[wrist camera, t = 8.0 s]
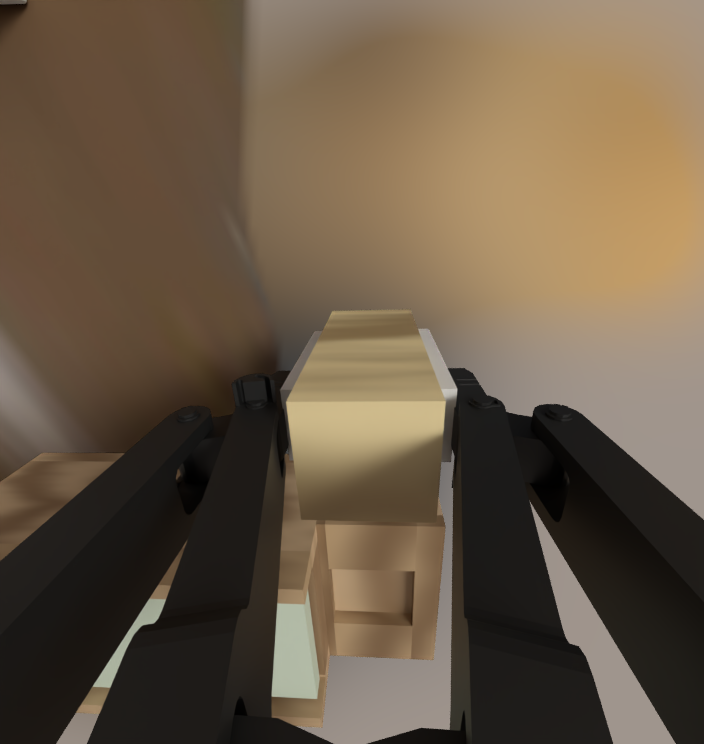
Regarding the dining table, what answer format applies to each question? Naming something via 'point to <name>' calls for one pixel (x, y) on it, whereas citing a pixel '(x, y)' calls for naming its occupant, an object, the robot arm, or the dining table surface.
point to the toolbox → (285, 571)
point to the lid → (291, 652)
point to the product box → (13, 1)
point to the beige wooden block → (368, 422)
